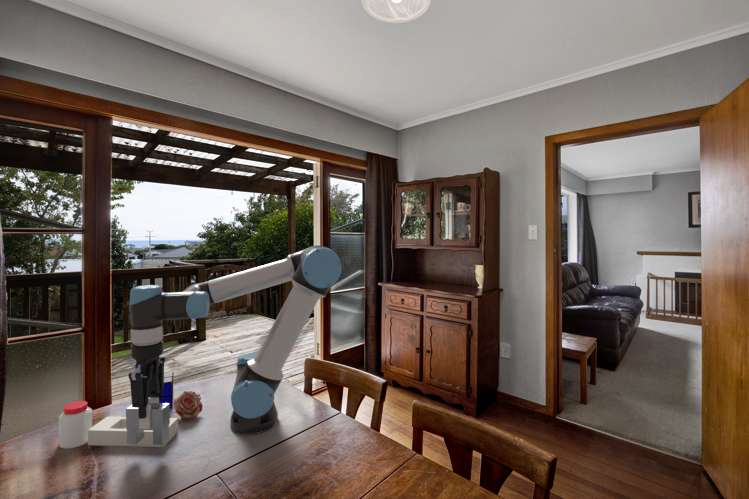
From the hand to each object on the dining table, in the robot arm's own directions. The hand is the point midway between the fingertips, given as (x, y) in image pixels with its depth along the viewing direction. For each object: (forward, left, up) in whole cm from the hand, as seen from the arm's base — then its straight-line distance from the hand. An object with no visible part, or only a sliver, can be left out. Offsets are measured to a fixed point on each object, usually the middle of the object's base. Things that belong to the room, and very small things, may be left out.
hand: (149, 423), depth 103 cm
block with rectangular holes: (+10, -9, -10) cm, 16 cm away
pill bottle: (+26, -7, -10) cm, 28 cm away
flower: (0, -22, -10) cm, 24 cm away
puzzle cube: (+15, -30, -10) cm, 35 cm away
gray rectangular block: (0, 0, -5) cm, 5 cm away
